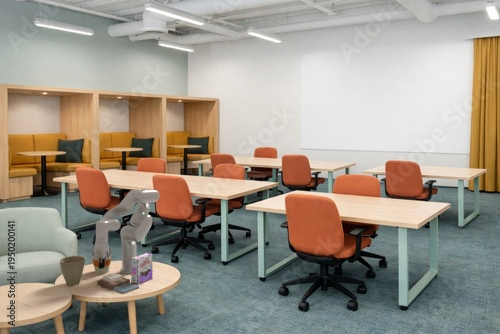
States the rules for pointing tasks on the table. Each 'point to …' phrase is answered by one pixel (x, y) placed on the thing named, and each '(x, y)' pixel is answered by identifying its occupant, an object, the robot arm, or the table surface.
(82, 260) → the plant pot
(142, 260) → the candy box
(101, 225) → the robot arm
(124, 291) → the mat
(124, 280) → the brown flat square block
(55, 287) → the table surface
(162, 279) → the table surface
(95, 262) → the reusable coffee cup
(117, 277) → the tile
